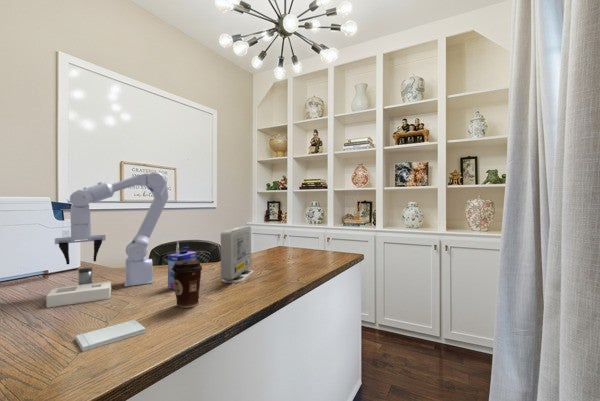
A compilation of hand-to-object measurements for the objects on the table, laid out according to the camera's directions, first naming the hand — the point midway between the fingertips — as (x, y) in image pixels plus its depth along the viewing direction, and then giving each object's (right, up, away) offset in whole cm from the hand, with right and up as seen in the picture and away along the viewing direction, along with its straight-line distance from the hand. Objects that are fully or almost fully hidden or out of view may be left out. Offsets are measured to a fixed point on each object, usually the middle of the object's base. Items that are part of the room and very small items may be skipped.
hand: (81, 262), depth 107 cm
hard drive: (+34, -10, -37) cm, 51 cm away
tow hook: (+19, -11, +41) cm, 47 cm away
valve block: (+6, -10, -8) cm, 14 cm away
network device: (+52, -10, +18) cm, 56 cm away
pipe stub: (+1, -10, 0) cm, 10 cm away
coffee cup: (+44, -10, -16) cm, 47 cm away
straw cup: (+34, -10, +5) cm, 36 cm away
